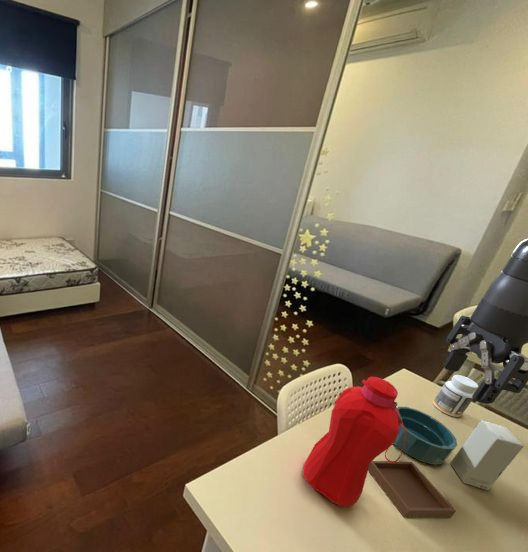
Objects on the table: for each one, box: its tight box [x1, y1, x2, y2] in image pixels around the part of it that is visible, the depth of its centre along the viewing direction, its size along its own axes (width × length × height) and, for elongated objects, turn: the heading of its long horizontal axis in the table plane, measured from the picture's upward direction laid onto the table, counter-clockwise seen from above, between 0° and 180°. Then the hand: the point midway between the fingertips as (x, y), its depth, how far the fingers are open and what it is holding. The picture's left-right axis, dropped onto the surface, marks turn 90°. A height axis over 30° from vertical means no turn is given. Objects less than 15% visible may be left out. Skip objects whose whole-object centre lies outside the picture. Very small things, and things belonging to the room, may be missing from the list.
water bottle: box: [303, 376, 406, 508], centre depth 57 cm, size 9×11×25 cm
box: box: [450, 419, 525, 491], centre depth 65 cm, size 5×4×13 cm
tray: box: [368, 460, 457, 519], centre depth 62 cm, size 10×10×2 cm
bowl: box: [393, 406, 458, 465], centre depth 73 cm, size 11×11×6 cm
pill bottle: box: [433, 374, 479, 418], centre depth 83 cm, size 6×6×10 cm
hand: (463, 384), depth 57 cm, fingers open, 8 cm apart
